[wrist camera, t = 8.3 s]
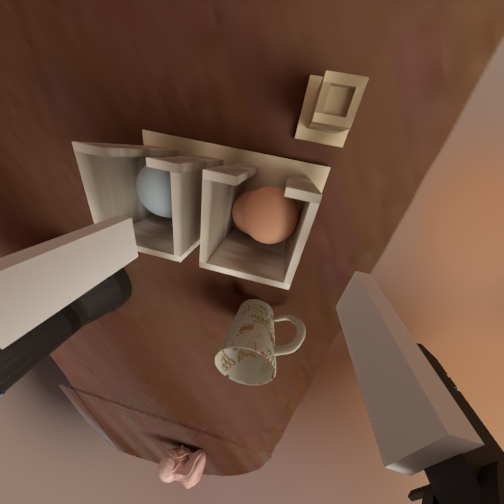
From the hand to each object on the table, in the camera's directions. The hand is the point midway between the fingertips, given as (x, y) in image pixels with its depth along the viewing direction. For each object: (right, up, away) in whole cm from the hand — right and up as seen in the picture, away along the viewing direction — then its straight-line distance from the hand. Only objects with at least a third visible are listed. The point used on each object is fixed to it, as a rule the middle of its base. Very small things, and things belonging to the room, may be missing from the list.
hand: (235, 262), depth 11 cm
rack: (-2, +8, +13) cm, 15 cm away
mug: (+4, -9, +21) cm, 24 cm away
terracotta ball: (+1, +4, +8) cm, 9 cm away
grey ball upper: (-8, +7, +9) cm, 14 cm away
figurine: (-26, -82, +67) cm, 110 cm away
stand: (+8, +14, +7) cm, 18 cm away
